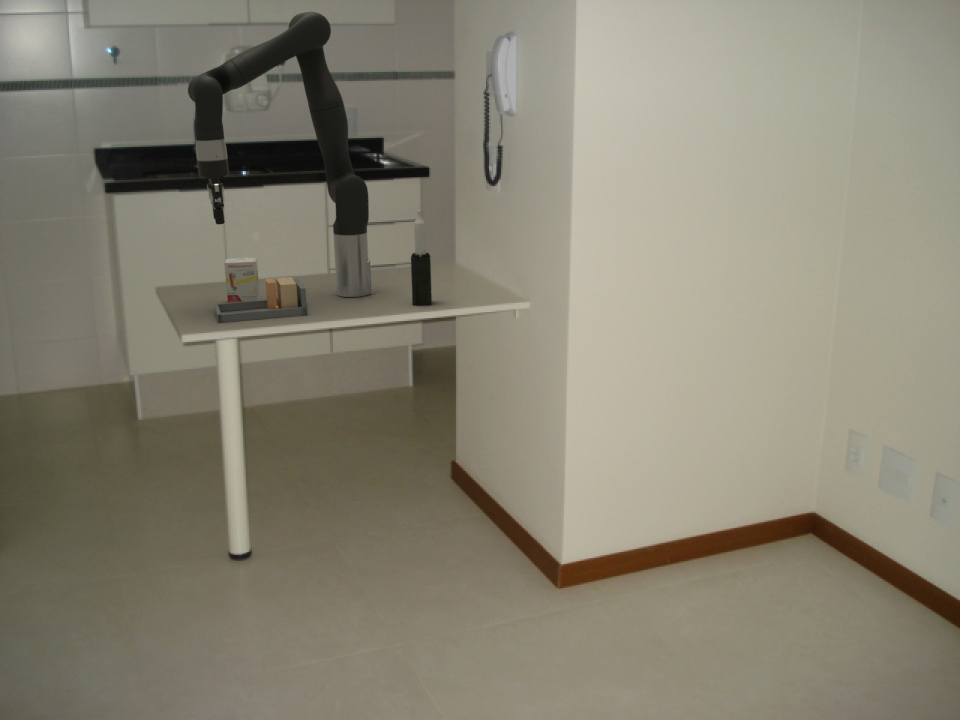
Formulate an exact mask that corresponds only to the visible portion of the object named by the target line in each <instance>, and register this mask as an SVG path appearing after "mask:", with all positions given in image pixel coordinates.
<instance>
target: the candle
mask: <svg viewBox="0 0 960 720" xmlns="http://www.w3.org/2000/svg"><path fill="white" fill-rule="evenodd" d="M421 213H422V212H421V210H420V209H418V210H417V214H416V215H417V217H416V219H415V221H414V222H413V233H414V237H413V238H414V252H412V253H411V256H410V269H411V270H410V272H411V273H410V274H411V298H412V299H411V300H412V306H415V305H416V306H431V305H432V304H433V303H432V301H433V300H432V299H433V297H432V269H431V268H432V267H431V266H432V265H431V254H430V253H429V252H427V242H426V237H427V235H426V222H425V221H424V219H423V217H422V214H421Z"/></svg>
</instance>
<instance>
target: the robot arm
mask: <svg viewBox="0 0 960 720" xmlns="http://www.w3.org/2000/svg"><path fill="white" fill-rule="evenodd" d="M331 34H332V28H331V24H330V22H329V19H328V18H326V16H324V15H323V14H321V13H320V12H315V11H306V12H305V11H304V12H301V13H297V14H296V15H294V16H293V17H292V18H291V20H290V21H289V23H288V29H286V30H284V31H283V32H282V33H279V34H278V35H277V36H275V37H272V38H271V39H269V40H267V41H264V42H261V43H260V44H258V45H255V46H253V47H251V48H248V49H247V50H245V51H242V52H240V53H238V54H237V55H235V56H232V57H231V58H230V59H228V60H226V61H225V62H224V63H222V64H220V65H219V66H216V67H214V68H212V69H209V70H207V71H205V72H203V73H201V74H198V75H197V76H195V77H194V78H193V79H191V80H190V82H189V83H188V86H187V94H188V96H189V97H188V98H190V99H191V101H192V102H194V104H195V114H196V115H195V119H194V123H193V125H194V134H195V136H194V137H195V154H196V161H197V163H196V164H197V170H198V177H199V178H201V179H208V183H207V184H206V188H207V191H208V198H209V200H210V204H211V207H212V215H213V219H214V220H215V225H224V224H225V213H224V209H225V203H224V201H225V193H224V192H225V186H224V185H225V184H224V183H221V178H226V177H229V175H230V171H229V160H228V150H227V145H226V140H225V131H224V124H223V112H224V111H223V109H224V96H223V95H225V94H227V93H228V92H231V91H233V90H237V89H240V88H242V87H244V86H245V85H247V84H249V83H251V82H252V81H254V80H256V79H258V78H260V77H261V76H263V75H265V74H266V73H268V72H269V71H270V70H271V71H272V69H275V68H276V67H277V66H280V65H281V64H282V63H285V62H287V61H288V60H291V59H293V58H294V57H295V58H296V60H297V63H298V66H299V69H300V72H301V77H302V83H303V86H304V87H303V88H304V91H305V97H306V100H307V103H308V104H307V105H308V110H309V114H310V118H311V121H312V127H313V129H314V133H315V136H316V139H317V143H318V147H319V150H320V152H321V155H322V156H321V157H322V160H323V165H324V173H325V179H326V187H327V192H328V196H329V198H330V200H332V202H333V203H335V221H334V223H332V230H333V248H334V267H335V268H334V269H335V284H336V286H335V287H336V295H337V296H338V297H344V298H358V297H364V296H369V295H372V293H373V292H372V291H373V290H372V275H371V274H372V273H371V271H372V270H371V260H370V259H369V248H368V247H369V246H368V243H369V242H368V224H369V221H370V220H369V218H370V216H369V215H370V211H369V207H370V206H369V204H370V203H369V191H368V190H369V189H368V186H367V184H366V182H365V181H364V179H363V178H361V176H359V175H356V173H355V171H354V168H353V164H352V161H351V157H350V153H349V122H348V117H347V112H346V109H345V104H344V103H345V102H344V99H343V96H342V94H341V92H340V90H339V87H338V85H337V83H336V81H335V79H334V78H333V76H332V73H331V72H330V69H329V67H328V63H327V60H326V55H325V51H324V46H325V45H326V44H327V43H328V41H329V40H330V37H331Z"/></svg>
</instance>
